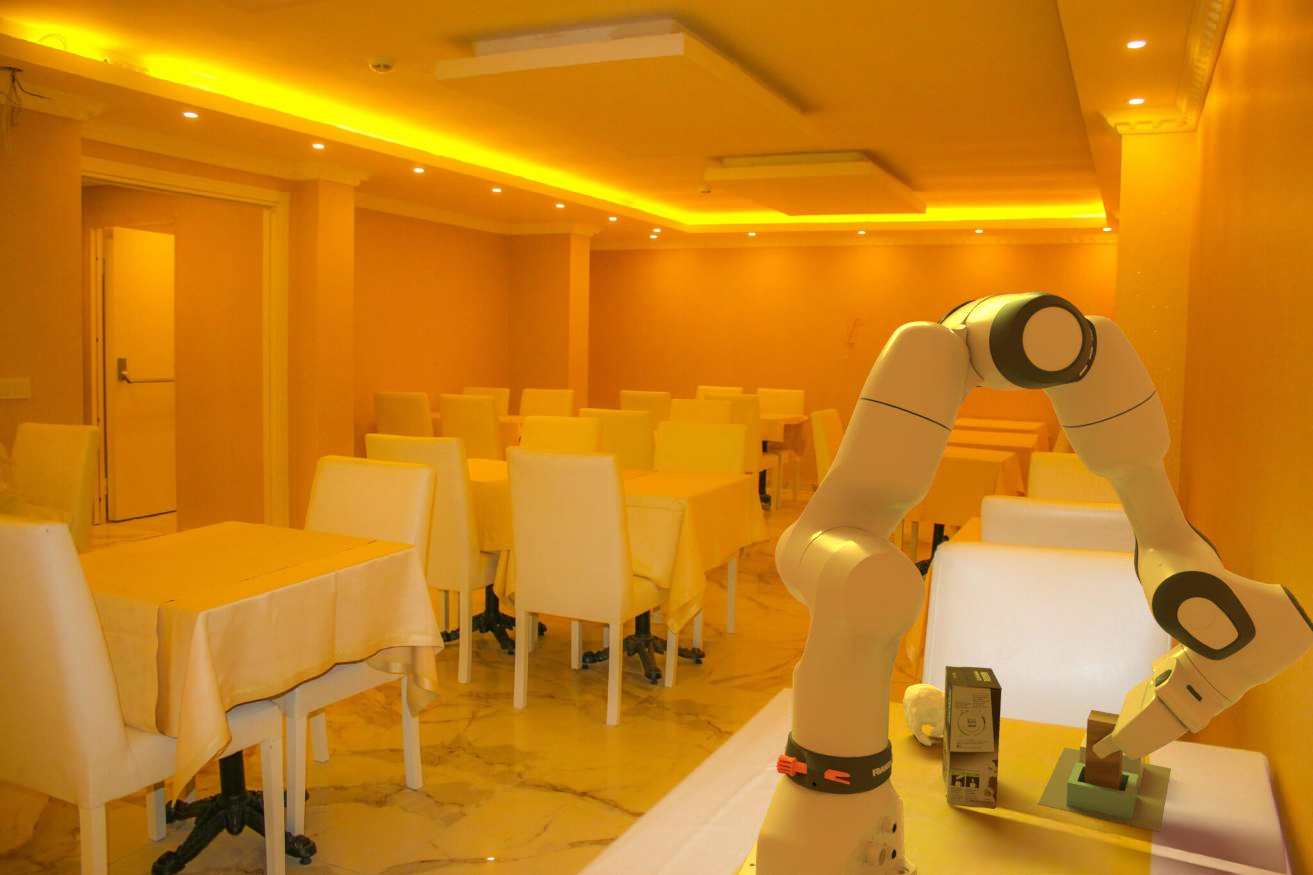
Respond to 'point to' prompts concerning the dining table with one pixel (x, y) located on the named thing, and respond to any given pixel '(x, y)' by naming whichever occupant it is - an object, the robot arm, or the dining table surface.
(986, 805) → the coffee box
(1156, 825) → the caddy
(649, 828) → the dining table surface
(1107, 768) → the plug
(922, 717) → the white lumpy rounded piece
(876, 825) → the robot arm
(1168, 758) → the dining table surface
